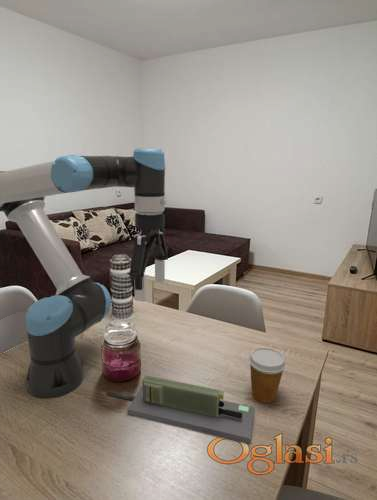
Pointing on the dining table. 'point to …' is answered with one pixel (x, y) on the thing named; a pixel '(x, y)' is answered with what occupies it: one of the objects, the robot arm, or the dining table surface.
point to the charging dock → (195, 417)
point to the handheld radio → (185, 397)
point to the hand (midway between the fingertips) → (150, 290)
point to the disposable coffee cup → (266, 373)
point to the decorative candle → (121, 287)
